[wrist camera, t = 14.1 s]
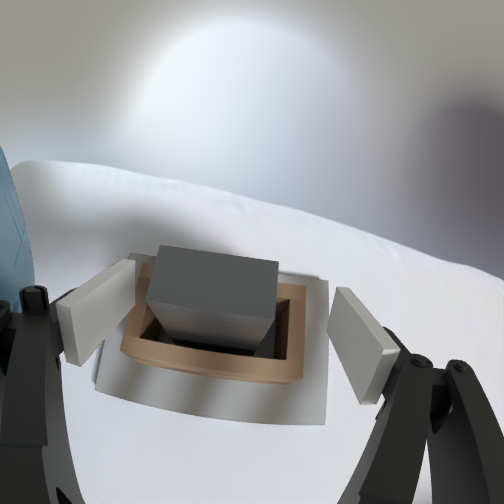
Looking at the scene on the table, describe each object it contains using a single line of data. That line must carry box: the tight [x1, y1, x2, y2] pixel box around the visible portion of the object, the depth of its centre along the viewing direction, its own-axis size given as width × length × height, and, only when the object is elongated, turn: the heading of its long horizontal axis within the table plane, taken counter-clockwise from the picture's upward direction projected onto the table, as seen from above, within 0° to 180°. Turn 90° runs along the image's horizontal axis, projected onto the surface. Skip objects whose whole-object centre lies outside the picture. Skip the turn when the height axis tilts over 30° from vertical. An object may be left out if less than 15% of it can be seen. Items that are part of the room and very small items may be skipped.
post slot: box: [95, 253, 329, 425], centre depth 22 cm, size 20×14×6 cm
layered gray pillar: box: [145, 245, 279, 357], centre depth 18 cm, size 6×3×12 cm, turn 84°
